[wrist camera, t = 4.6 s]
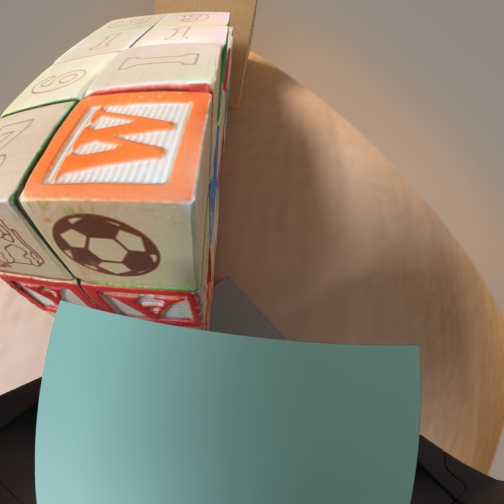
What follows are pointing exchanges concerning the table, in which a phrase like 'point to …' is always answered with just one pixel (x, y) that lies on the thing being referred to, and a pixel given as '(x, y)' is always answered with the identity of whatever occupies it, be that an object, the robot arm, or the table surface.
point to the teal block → (221, 417)
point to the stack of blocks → (120, 171)
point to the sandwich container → (242, 19)
